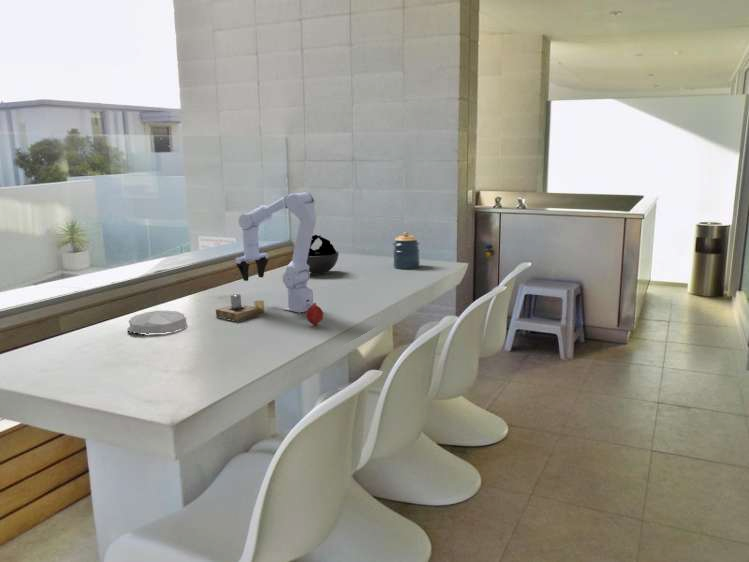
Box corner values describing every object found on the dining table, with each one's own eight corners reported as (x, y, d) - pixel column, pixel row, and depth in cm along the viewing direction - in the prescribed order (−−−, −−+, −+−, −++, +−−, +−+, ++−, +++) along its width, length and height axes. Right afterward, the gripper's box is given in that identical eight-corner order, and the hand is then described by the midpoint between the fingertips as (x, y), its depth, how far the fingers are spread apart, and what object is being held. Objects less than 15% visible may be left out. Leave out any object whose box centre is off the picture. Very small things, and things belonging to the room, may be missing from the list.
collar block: (258, 315, 242) (258, 307, 241) (237, 322, 234) (236, 313, 233) (238, 311, 249) (237, 303, 248) (216, 317, 242) (215, 309, 241)
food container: (184, 319, 242) (182, 301, 241) (190, 331, 224) (189, 312, 223) (126, 327, 235) (124, 308, 234) (128, 340, 217) (126, 320, 216)
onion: (308, 328, 222) (306, 305, 221) (305, 324, 228) (304, 301, 226) (325, 326, 224) (324, 303, 222) (321, 322, 229) (320, 300, 228)
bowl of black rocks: (301, 270, 330) (299, 233, 326) (341, 269, 329) (339, 231, 325) (295, 278, 310) (292, 238, 306) (337, 277, 309) (335, 237, 305)
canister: (390, 266, 333) (389, 231, 329) (414, 263, 336) (413, 229, 333) (398, 270, 321) (397, 234, 317) (423, 268, 324) (423, 232, 321)
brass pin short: (266, 312, 246) (265, 301, 245) (259, 314, 243) (258, 303, 242) (260, 311, 248) (259, 299, 247) (253, 313, 245) (252, 301, 245)
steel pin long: (244, 316, 242) (242, 295, 240) (235, 318, 239) (234, 296, 238) (238, 314, 244) (236, 293, 243) (230, 316, 242) (228, 295, 240)
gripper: (258, 241, 262) (261, 274, 265) (229, 246, 252) (232, 281, 254) (270, 242, 258) (272, 276, 261) (241, 247, 247) (243, 282, 250)
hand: (253, 278), depth 257 cm, fingers open, 7 cm apart
